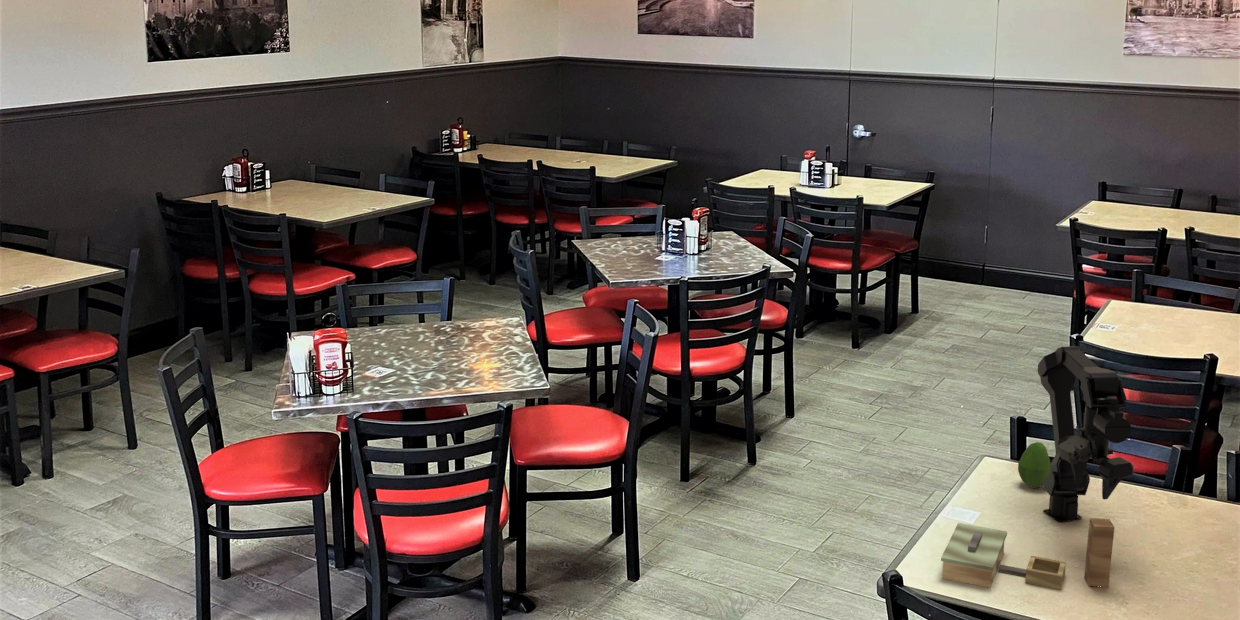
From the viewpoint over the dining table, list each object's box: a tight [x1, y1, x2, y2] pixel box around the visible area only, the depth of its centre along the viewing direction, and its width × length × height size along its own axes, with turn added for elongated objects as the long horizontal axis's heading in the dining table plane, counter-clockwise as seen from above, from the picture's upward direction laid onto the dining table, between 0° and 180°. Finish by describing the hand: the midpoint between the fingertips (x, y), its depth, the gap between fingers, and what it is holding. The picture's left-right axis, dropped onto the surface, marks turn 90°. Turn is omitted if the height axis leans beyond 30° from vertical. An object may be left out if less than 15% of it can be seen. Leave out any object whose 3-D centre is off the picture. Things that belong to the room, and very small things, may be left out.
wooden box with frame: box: [940, 522, 1067, 590], centre depth 248 cm, size 19×24×6 cm
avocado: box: [1017, 441, 1052, 489], centre depth 290 cm, size 8×8×12 cm
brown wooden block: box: [1083, 517, 1115, 588], centre depth 241 cm, size 4×4×14 cm
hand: (1091, 491), depth 257 cm, fingers open, 9 cm apart
